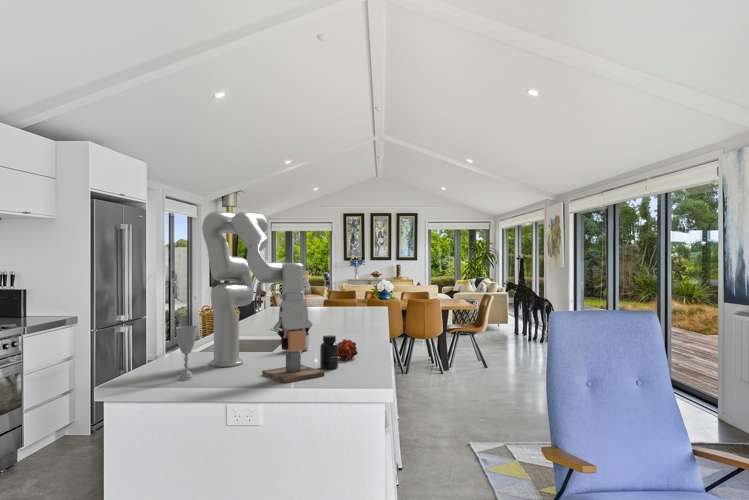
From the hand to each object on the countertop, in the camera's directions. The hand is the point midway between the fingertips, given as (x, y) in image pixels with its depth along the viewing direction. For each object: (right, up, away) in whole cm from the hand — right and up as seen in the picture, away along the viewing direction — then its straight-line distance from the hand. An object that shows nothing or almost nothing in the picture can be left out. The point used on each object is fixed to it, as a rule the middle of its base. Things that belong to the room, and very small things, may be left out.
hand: (293, 347), depth 189 cm
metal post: (0, -9, 0) cm, 9 cm away
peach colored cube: (0, -1, 0) cm, 1 cm away
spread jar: (-5, -10, +45) cm, 47 cm away
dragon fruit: (+18, -10, +29) cm, 35 cm away
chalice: (-37, -10, -4) cm, 38 cm away
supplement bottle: (+12, -10, +12) cm, 20 cm away
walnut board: (0, -10, 0) cm, 10 cm away
